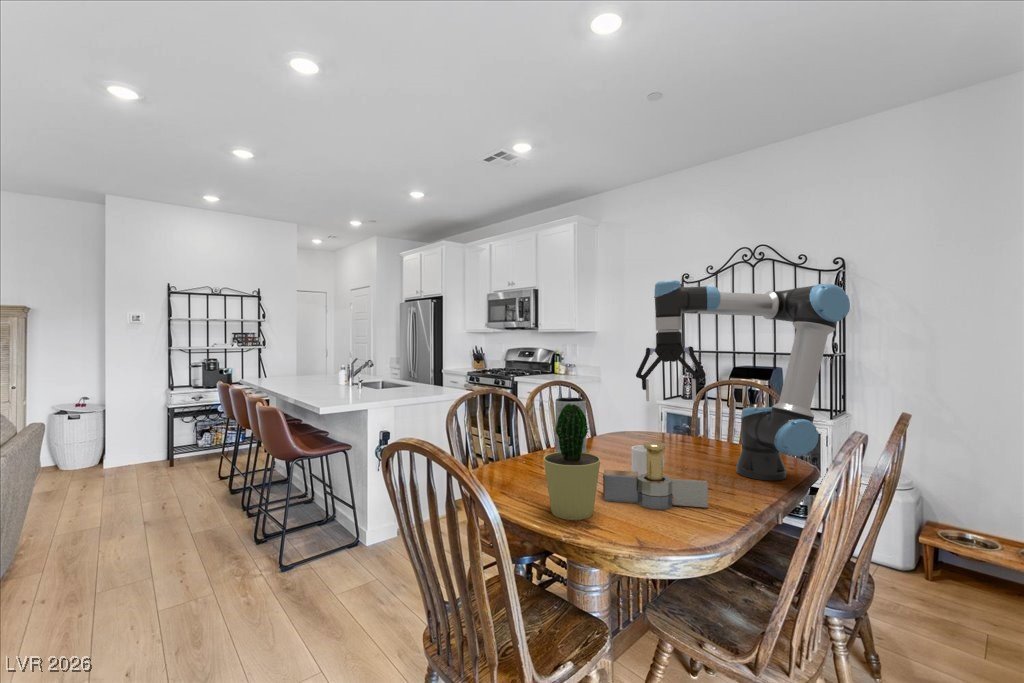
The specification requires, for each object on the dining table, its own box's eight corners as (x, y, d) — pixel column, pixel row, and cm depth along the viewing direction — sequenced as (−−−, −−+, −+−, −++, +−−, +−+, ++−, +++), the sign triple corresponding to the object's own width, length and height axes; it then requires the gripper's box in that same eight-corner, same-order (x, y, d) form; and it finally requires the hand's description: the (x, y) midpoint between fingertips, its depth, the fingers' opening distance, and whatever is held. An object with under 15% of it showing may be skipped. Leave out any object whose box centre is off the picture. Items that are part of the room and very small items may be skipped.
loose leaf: (637, 506, 132) (637, 482, 132) (637, 495, 142) (637, 472, 141) (709, 512, 128) (709, 487, 128) (705, 500, 137) (705, 477, 137)
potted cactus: (531, 512, 130) (531, 402, 130) (567, 498, 141) (566, 397, 140) (577, 528, 119) (576, 408, 119) (612, 511, 130) (611, 401, 129)
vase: (563, 475, 165) (563, 396, 164) (591, 479, 160) (590, 398, 159) (550, 482, 156) (550, 400, 156) (579, 487, 151) (578, 402, 151)
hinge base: (671, 499, 139) (670, 474, 139) (673, 510, 130) (673, 484, 130) (605, 494, 144) (605, 470, 144) (603, 505, 135) (603, 479, 135)
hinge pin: (665, 501, 138) (664, 442, 138) (666, 508, 132) (666, 447, 132) (643, 499, 139) (643, 441, 139) (643, 506, 134) (643, 445, 134)
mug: (656, 473, 166) (656, 443, 166) (671, 479, 158) (671, 448, 158) (626, 476, 162) (626, 446, 162) (640, 483, 154) (640, 451, 154)
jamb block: (638, 495, 143) (638, 471, 142) (638, 501, 138) (638, 476, 138) (604, 493, 145) (604, 469, 145) (603, 498, 140) (603, 474, 140)
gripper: (709, 329, 147) (711, 398, 147) (626, 332, 153) (628, 398, 153) (714, 329, 140) (716, 402, 140) (626, 332, 145) (629, 402, 145)
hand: (670, 400), depth 146 cm, fingers open, 13 cm apart
